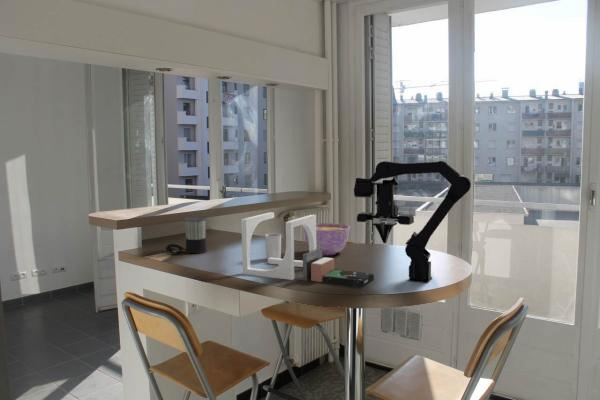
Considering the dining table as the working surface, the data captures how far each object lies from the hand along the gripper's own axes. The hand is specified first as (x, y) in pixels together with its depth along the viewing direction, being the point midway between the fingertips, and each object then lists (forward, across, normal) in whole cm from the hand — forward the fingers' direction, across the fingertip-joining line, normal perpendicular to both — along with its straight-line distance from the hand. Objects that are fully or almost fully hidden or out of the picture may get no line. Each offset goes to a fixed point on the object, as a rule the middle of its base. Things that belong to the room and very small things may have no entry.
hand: (384, 243), depth 175 cm
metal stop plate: (+12, +24, +10) cm, 28 cm away
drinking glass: (+12, +50, -8) cm, 52 cm away
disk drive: (+13, +10, +10) cm, 19 cm away
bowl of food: (+12, +35, -27) cm, 46 cm away
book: (+12, +19, +10) cm, 25 cm away
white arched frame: (+12, +38, +7) cm, 40 cm away
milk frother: (+12, +91, -3) cm, 92 cm away
